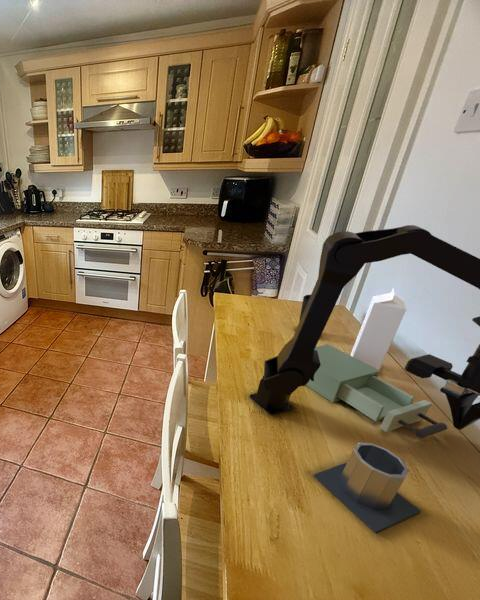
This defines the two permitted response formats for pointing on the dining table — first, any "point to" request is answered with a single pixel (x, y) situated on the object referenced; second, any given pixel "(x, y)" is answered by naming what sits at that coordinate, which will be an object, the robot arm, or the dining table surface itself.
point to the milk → (378, 329)
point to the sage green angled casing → (337, 372)
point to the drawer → (388, 405)
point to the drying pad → (372, 518)
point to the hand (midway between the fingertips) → (458, 428)
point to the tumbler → (373, 475)
